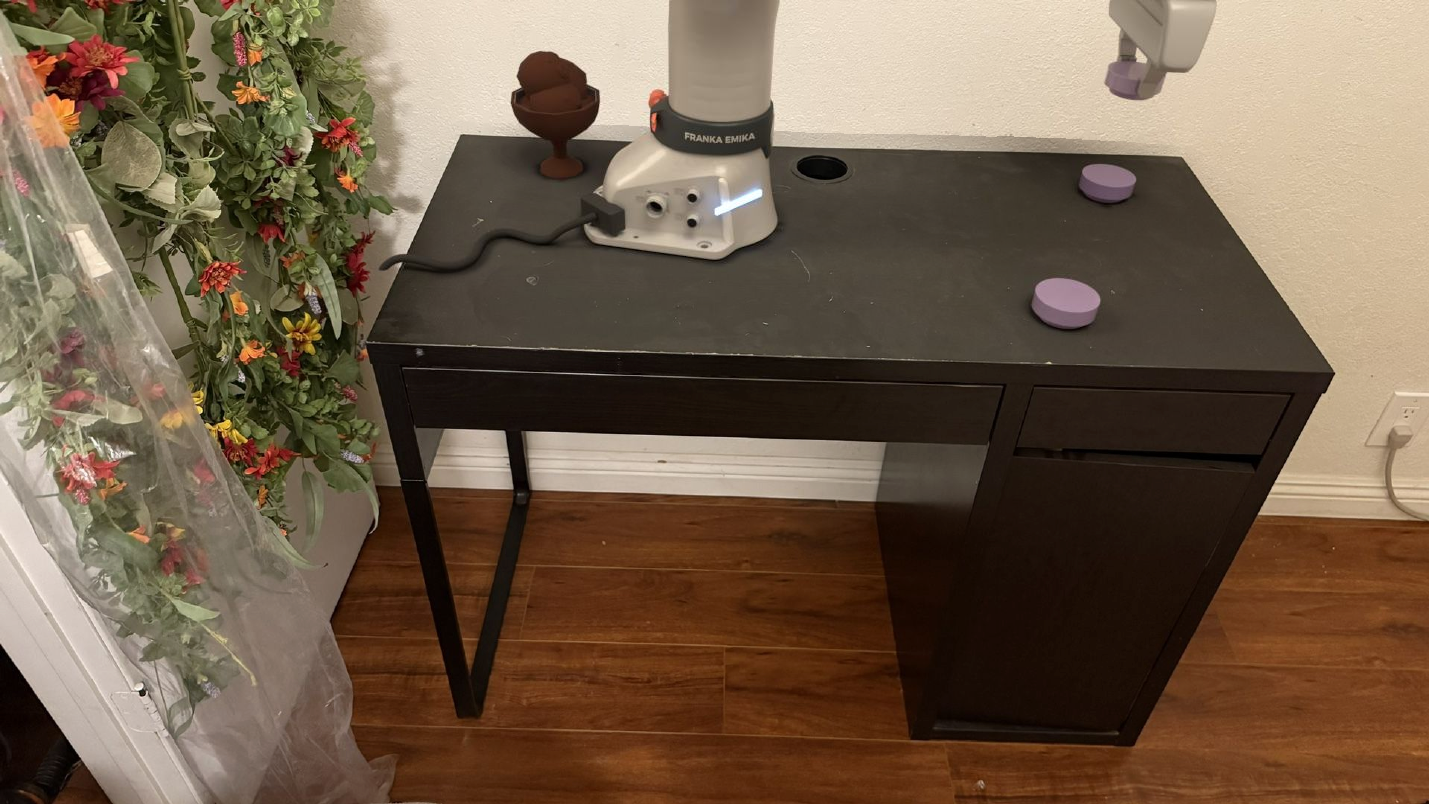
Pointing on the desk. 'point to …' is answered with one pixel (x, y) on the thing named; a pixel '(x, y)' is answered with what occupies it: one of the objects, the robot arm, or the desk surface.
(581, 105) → the ice cream bowl
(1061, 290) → the dish front
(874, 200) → the desk surface
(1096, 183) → the dish bottom
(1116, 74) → the dish top
